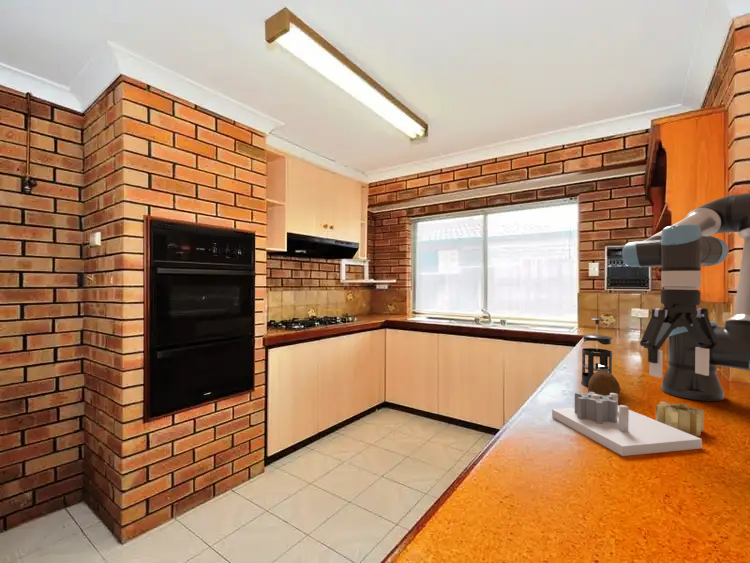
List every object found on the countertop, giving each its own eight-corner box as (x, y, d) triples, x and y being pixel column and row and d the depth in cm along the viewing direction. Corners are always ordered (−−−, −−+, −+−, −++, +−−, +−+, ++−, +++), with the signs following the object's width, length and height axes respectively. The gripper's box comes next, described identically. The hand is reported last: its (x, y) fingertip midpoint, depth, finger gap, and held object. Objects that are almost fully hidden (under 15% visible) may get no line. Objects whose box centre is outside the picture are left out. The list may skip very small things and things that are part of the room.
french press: (604, 391, 121) (605, 320, 120) (574, 384, 128) (575, 318, 128) (619, 385, 127) (620, 318, 127) (590, 379, 135) (591, 316, 135)
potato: (623, 398, 114) (624, 369, 114) (617, 408, 105) (617, 377, 105) (592, 392, 120) (592, 365, 119) (584, 401, 111) (584, 372, 110)
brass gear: (662, 418, 97) (662, 399, 97) (705, 428, 91) (705, 408, 91) (652, 427, 91) (652, 407, 91) (698, 439, 85) (698, 417, 85)
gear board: (617, 412, 102) (617, 384, 101) (701, 448, 80) (702, 413, 80) (552, 416, 98) (552, 388, 98) (622, 456, 76) (622, 419, 76)
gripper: (705, 288, 97) (704, 369, 97) (623, 288, 92) (622, 373, 92) (738, 289, 89) (737, 377, 89) (651, 288, 85) (650, 381, 85)
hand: (679, 375), depth 91 cm, fingers open, 13 cm apart
